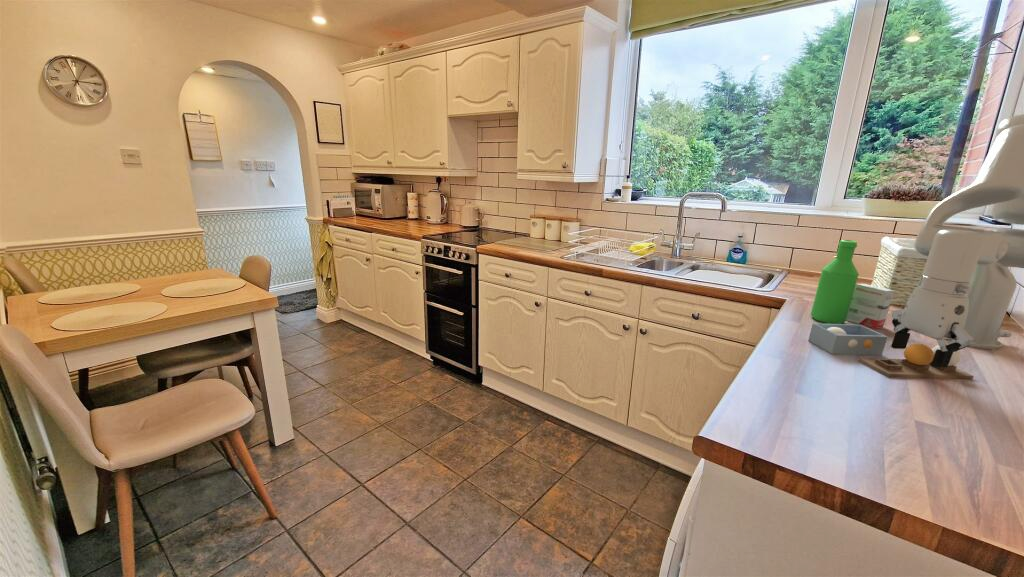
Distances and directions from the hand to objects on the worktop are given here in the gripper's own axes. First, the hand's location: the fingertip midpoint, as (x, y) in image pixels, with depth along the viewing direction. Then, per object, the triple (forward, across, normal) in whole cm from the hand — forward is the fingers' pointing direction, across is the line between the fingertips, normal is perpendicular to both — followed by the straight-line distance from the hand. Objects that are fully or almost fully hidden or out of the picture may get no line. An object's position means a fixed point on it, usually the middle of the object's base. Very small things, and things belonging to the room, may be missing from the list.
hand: (917, 357), depth 96 cm
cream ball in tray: (0, +12, +10) cm, 16 cm away
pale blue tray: (+3, +12, +7) cm, 14 cm away
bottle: (+3, +33, -5) cm, 34 cm away
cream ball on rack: (-1, 0, -7) cm, 7 cm away
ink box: (+3, +31, -15) cm, 35 cm away
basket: (+3, +56, -59) cm, 81 cm away
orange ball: (-1, 0, 0) cm, 1 cm away
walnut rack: (+3, 0, 0) cm, 3 cm away
